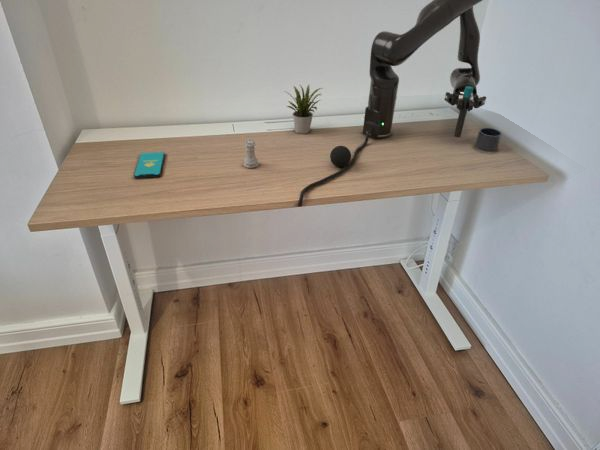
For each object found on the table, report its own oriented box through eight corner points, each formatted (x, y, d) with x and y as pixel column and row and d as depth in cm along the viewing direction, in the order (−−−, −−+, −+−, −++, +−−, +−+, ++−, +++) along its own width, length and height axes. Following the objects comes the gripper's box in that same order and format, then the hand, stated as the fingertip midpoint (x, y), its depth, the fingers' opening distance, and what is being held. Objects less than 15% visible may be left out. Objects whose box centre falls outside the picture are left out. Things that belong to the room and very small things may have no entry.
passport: (164, 151, 133) (159, 174, 121) (164, 153, 133) (160, 176, 121) (140, 153, 132) (133, 176, 120) (141, 155, 132) (134, 178, 120)
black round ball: (355, 144, 132) (348, 145, 123) (355, 164, 134) (349, 167, 124) (335, 145, 134) (327, 146, 125) (336, 165, 136) (328, 168, 126)
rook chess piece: (257, 169, 127) (256, 144, 122) (242, 168, 127) (241, 144, 122) (259, 162, 130) (258, 138, 126) (244, 161, 130) (243, 137, 126)
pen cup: (488, 155, 138) (494, 138, 135) (470, 147, 142) (475, 130, 139) (500, 149, 142) (506, 133, 138) (482, 142, 146) (487, 126, 142)
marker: (457, 138, 141) (470, 89, 132) (451, 135, 143) (463, 87, 133) (462, 136, 143) (474, 87, 133) (456, 134, 144) (468, 85, 134)
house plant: (332, 129, 152) (336, 84, 143) (313, 142, 143) (315, 94, 133) (299, 120, 158) (300, 76, 149) (278, 132, 149) (278, 86, 139)
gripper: (446, 78, 147) (445, 93, 133) (488, 82, 144) (491, 98, 130) (442, 99, 151) (440, 116, 138) (482, 103, 148) (484, 122, 135)
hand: (465, 107), depth 134 cm, fingers closed on marker, 2 cm apart
